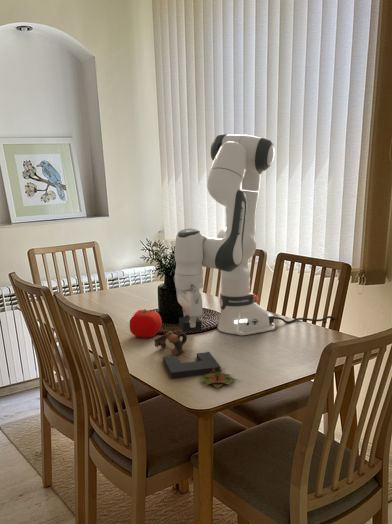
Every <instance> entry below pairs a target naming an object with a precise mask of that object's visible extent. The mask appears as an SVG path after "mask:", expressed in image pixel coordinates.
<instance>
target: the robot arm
mask: <svg viewBox="0 0 392 524" xmlns="http://www.w3.org/2000/svg"><path fill="white" fill-rule="evenodd" d="M210 158H211V160H212V161H213V162H212V164H211V167H210V170H209V174H208V178H207V183H206V188H207V191H208V194H209V195H210V197H211V198H212V199H213V200H215V202H217V203H218V204H220V205H222V206H223V207H225V221H226V223H225V224H226V226H225V227H223V228H221V229H220V231H218V233H217V236H216V237H211V236H207V235H204V234H203V233H202V232H201V230H200V229H198V228H196V227H195V228H194V227H189V228H183V229H180V230H179V231H178V232H177V233H176V236H175V242H174V261H175V270H174V276H173V282H174V285H175V291H176V293H175V294H176V299H177V303H178V304H179V305H180V307H182V313H183V317H190V321H189V326H190V327H191V328H193V327H195V326H196V319H197V318H199V319H201V318H202V317H203V314H204V313H203V311H204V310H203V296H202V293H201V292H200V289H203V288H204V269H203V268H208V269H215V270H220V294H219V308H220V312H219V320H218V324H217V330H218V331H219V332H221V333H225V334H231V335H237V336H247V335H254V334H259V333H263V332H271V331H274V330H275V329H276V326H275V324H274V321H275V320H280V321H283V323H285V324H291V323H294V322H296V321H309V322H324V321H326V320H327V319H331V320H335V318H334V317H333V315H332V316H331V315H328V316H325V317H323V318H320V319H315V318H307V317H296V318H294V319H292V320H286V319H285V318H283V317H280V316H274V315H273V314H272V313H271V312H267V310H266V309H265V308H264V307H262V306H261V305H260V304H258V303H257V301H259V295H257V294H254V293H252V292H251V271H250V268H249V261H248V260H250V259H251V258H252V257H253V256H254V255H255V253H256V249H257V243H256V212H257V206H258V199H259V193H260V187H261V175H262V173H263V172H265V171H267V170H268V169H269V168H270V167H271V166H272V163H273V161H274V158H275V144H274V143H273V141H272V140H271V139H268V138H267V137H260V136H259V137H258V136H254V135H250V134H228V133H221V134H217V135H216V136H214V138H213V139H212V142H211V145H210Z"/></svg>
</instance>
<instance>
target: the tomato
mask: <svg viewBox="0 0 392 524" xmlns="http://www.w3.org/2000/svg"><path fill="white" fill-rule="evenodd" d="M162 322H163V320H162V316H161V314H159V313H158V312H157V311H155V310H154V309H153V310H149V309H146V308H143V309H138V310H137V311H136V312H134V314H133V315H132V317H131V318H130V320H129V331H130V332H131V334H132V335H133V336H135V337H137V338H142V339H143V338H144V339H147V338H151V337H152V338H153V337H154V336H156V335H157V334H158V333H159V332H160V330H161V328H162V324H163V323H162Z"/></svg>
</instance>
